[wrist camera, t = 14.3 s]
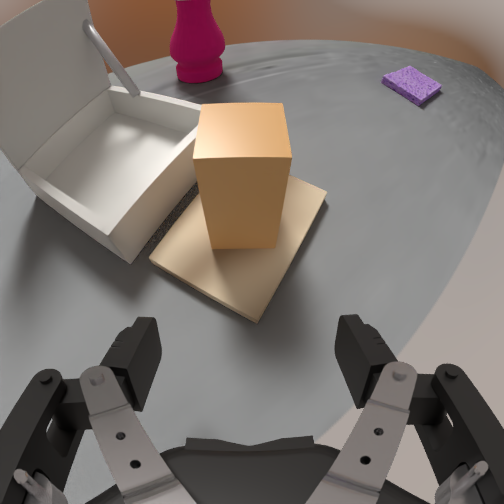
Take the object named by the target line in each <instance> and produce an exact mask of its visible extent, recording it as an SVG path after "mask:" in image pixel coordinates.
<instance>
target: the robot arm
mask: <svg viewBox="0 0 504 504" xmlns="http://www.w3.org/2000/svg"><path fill="white" fill-rule="evenodd" d="M161 355H162V348H161V342H160V337H159V332H158V327H157V322H156V319H155V318H154V317H137V319H136V321H135V322H134V324H133V326H132V327H127V328H125V329H124V330H123V331H121V332H120V333H119V334H118V336H117V337H116V339H115V342H113V344H112V345H111V347H110V348H109V350H108V352H107V353H106V355H105V357H104V358H103V360H102V362H101V363H100V365H99V366H94V367H91V368H88V369H87V370H85V371H84V372H83V373H82V374H81V376H80V378H79V379H63V378H62V376H61V374H60V372H59V371H57V370H55V369H45V370H42V371H40V372H38V373H37V374H36V375H35V376H34V377H33V378H32V380H31V381H30V383H29V384H28V386H27V387H26V389H25V390H24V392H23V394H22V395H21V397H20V398H19V400H18V401H17V403H16V405H15V406H14V408H13V409H12V411H11V413H10V414H9V416H8V418H7V419H6V421H5V423H4V424H3V426H2V428H1V430H0V504H68V501H67V499H66V497H65V495H64V494H63V491H64V488H65V484H66V481H67V478H68V475H69V472H70V469H71V466H72V464H73V461H74V458H75V455H76V452H77V450H78V447H79V444H80V441H81V439H82V436H83V434H84V431H85V430H86V429H93V431H94V434H95V436H96V439H97V441H98V444H99V446H100V449H101V451H102V454H103V456H104V458H105V461H106V463H107V465H108V467H109V469H110V471H111V474H112V476H113V478H114V480H115V482H116V484H115V485H114V486H112V487H111V488H109V489H107V490H106V491H104V492H103V493H101V494H100V495H98V496H96V497H95V498H93V499H92V500H90V501H88V502H87V503H85V504H430V503H428V502H426V501H424V500H422V499H420V498H418V497H417V496H415V495H413V494H411V493H409V492H407V491H405V490H404V489H402V488H400V487H398V486H397V485H395V484H393V483H391V482H390V481H388V480H386V477H387V474H388V472H389V470H390V466H391V465H392V462H393V460H394V457H395V455H396V452H397V449H398V447H399V443H400V441H401V438H402V435H403V432H404V429H405V426H406V425H414V426H415V429H416V431H417V433H418V435H419V438H420V440H421V442H422V444H423V446H424V449H425V452H426V454H427V456H428V459H429V461H430V464H431V466H432V469H433V471H434V473H435V476H436V479H437V481H438V484H439V487H438V489H437V491H436V493H435V504H504V429H503V427H502V426H501V424H500V423H499V421H498V420H497V418H496V416H495V415H494V414H493V412H492V410H491V409H490V407H489V406H488V405H487V403H486V402H485V400H484V399H483V397H482V396H481V395H480V393H479V392H478V390H477V389H476V387H475V386H474V385H473V383H472V382H471V381H470V379H469V378H468V377H467V375H466V374H465V372H464V371H463V370H462V369H461V368H460V367H458V366H456V365H453V364H442V365H440V366H438V367H437V369H436V371H435V374H417V372H416V370H415V369H414V368H413V367H412V366H411V365H409V364H407V363H404V362H398V360H397V359H396V357H395V356H394V354H393V353H392V351H391V350H390V348H389V347H388V346H387V344H385V341H384V340H383V338H381V335H380V334H379V332H378V331H377V330H376V329H375V328H373V327H372V326H370V325H369V324H364V323H363V322H362V320H361V319H360V317H359V316H358V315H357V314H353V315H341V316H340V318H339V322H338V328H337V334H336V340H335V356H336V359H337V361H338V364H339V366H340V369H341V371H342V373H343V376H344V378H345V381H346V383H347V386H348V388H349V391H350V393H351V396H352V398H353V401H354V403H355V406H356V408H357V409H360V408H364V409H363V411H362V413H361V415H360V417H359V419H358V421H357V423H356V425H355V427H354V429H353V431H352V432H351V434H350V436H349V438H348V440H347V441H346V443H345V445H344V447H343V448H342V450H341V451H340V450H338V449H335V448H333V447H329V446H326V445H320V444H314V440H313V436H304V437H293V438H281V439H278V440H274V441H270V442H266V443H262V444H258V445H253V446H246V445H241V444H236V443H231V442H226V441H222V440H218V439H198V438H187V439H186V445H185V446H181V447H176V448H173V449H169V450H167V451H164V452H162V453H160V454H159V453H158V451H157V450H156V448H155V447H154V445H153V443H152V442H151V440H150V438H149V437H148V435H147V433H146V432H145V430H144V428H143V427H142V425H141V423H140V421H139V420H138V418H137V416H136V414H135V413H134V411H140V412H142V411H143V408H144V405H145V402H146V399H147V396H148V394H149V391H150V388H151V385H152V382H153V379H154V377H155V374H156V371H157V368H158V366H159V363H160V360H161ZM447 413H448V415H449V416H450V418H451V420H452V422H453V427H452V425H451V423H450V421H449V419H448V418H447V416H446V415H447ZM51 418H52V419H53V421H52V423H51V425H50V427H49V429H48V431H47V433H46V429H47V426H48V424H49V422H50V420H51Z"/></svg>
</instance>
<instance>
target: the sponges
mask: <svg viewBox="0 0 504 504" xmlns="http://www.w3.org/2000/svg"><path fill="white" fill-rule="evenodd" d="M381 83H383V84H384V85H386V86H388V87H389V88H391V89H393V90H394V91H396V92H398V93H399V94H401V95H402V96H404V97H405V98H407V99H408V100H410V101H412V102H413V103H415V104H416V105H418V106H419V105H421V104H422V103H423V102H425V101H426V100H427V99H429V98H430V97H432V96H433V95H434V94H436V93H437V92H439V90H440V89H441V87H442V85H440V84H439V83H437V82H436V81H434V80H432V79H431V78H429V77H427V76H425V75H424V74H422V73H421V72H419V71H417V70H416V69H414V68H413V67H411V66H408V67H407V68H404V69H402V70H398V71H397V72H392V73H390V74H387V75H384V76H383V78H382V81H381Z"/></svg>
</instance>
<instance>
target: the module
mask: <svg viewBox="0 0 504 504" xmlns="http://www.w3.org/2000/svg"><path fill="white" fill-rule="evenodd" d="M291 160H292V154H291V148H290V142H289V137H288V131H287V125H286V120H285V114H284V109H283V104H282V103H216V104H202V106H201V111H200V117H199V123H198V128H197V134H196V140H195V147H194V153H193V163H194V168H195V173H196V178H197V183H198V188H199V193H200V198H201V203H202V207H203V212H204V217H205V221H206V226H207V230H208V235H209V239H210V244H211V248H212V249H260V248H275V247H276V242H277V236H278V231H279V226H280V221H281V215H282V210H283V205H284V199H285V194H286V188H287V183H288V177H289V172H290V166H291Z"/></svg>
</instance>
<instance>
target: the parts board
mask: <svg viewBox="0 0 504 504" xmlns="http://www.w3.org/2000/svg"><path fill="white" fill-rule="evenodd" d="M326 194H327V192H326V191H324V190H322V189H320V188H318V187H315V186H313V185H311V184H309V183H307V182H304V181H302V180H300V179H298V178H295V177H293V176H291V175H289V177H288V183H287V188H286V194H285V199H284V205H283V210H282V215H281V221H280V226H279V231H278V236H277V242H276V247H275V248H260V249H212V248H211V244H210V239H209V235H208V230H207V226H206V221H205V217H204V212H203V207H202V203H201V198H200V193H198V194H197V196H196V197H195V198H194V199H193V201H192V202H191V203H190V204H189V205H188V207H187V208H186V209H185V210H184V212H183V213H182V214H181V216H180V217H179V218H178V219H177V221H176V222H175V223H174V224H173V226H172V227H171V228H170V230H169V231H168V232H167V234H166V235H165V236H164V238H163V239H162V240H161V241H160V243H159V244H158V245H157V247H156V248H155V250H154V251H153V252H152V254H151V255H150V256H149V259H150V260H151V262H152V263H153V264H154V265H156V266H158V267H159V268H161V269H162V270H164V271H166V272H167V273H169V274H171V275H172V276H174V277H176V278H177V279H179V280H181V281H182V282H184V283H186V284H187V285H189V286H191V287H193V288H194V289H196V290H198V291H199V292H201V293H203V294H205V295H206V296H208V297H210V298H212V299H213V300H215V301H217V302H219V303H220V304H222V305H224V306H226V307H227V308H229V309H231V310H233V311H235V312H237V313H238V314H240V315H242V316H244V317H246V318H247V319H249V320H251V321H253V322H255V323H258V322H259V320H260V318H261V316H262V315H263V313H264V311H265V309H266V308H267V306H268V304H269V302H270V300H271V299H272V297H273V295H274V293H275V291H276V290H277V288H278V286H279V284H280V282H281V281H282V279H283V277H284V275H285V273H286V272H287V270H288V268H289V266H290V264H291V262H292V260H293V259H294V257H295V255H296V253H297V251H298V249H299V247H300V246H301V244H302V242H303V240H304V238H305V236H306V234H307V232H308V230H309V229H310V227H311V225H312V223H313V221H314V219H315V217H316V215H317V213H318V211H319V209H320V207H321V205H322V203H323V201H324V199H325V197H326Z"/></svg>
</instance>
